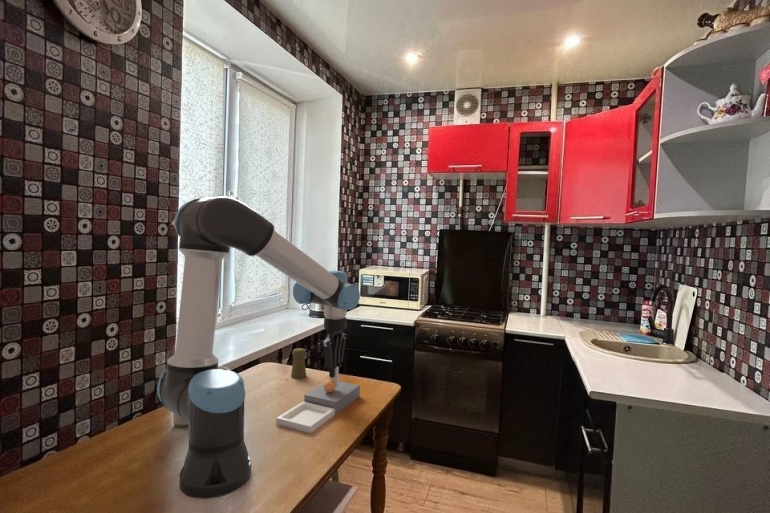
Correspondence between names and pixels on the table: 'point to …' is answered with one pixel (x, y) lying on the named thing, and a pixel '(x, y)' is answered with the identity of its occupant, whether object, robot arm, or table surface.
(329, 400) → the deck
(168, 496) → the table surface
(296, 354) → the cork
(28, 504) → the table surface
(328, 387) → the ball
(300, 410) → the tray
